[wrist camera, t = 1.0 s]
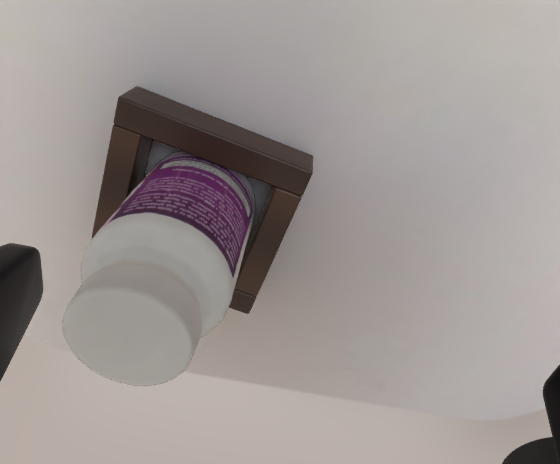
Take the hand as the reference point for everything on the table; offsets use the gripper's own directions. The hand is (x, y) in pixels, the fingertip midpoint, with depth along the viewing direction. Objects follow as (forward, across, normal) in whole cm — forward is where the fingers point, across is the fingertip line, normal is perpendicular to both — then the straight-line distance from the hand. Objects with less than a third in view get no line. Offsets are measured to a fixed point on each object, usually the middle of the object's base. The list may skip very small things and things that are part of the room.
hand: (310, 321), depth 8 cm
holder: (+13, +4, +6) cm, 15 cm away
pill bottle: (+14, +4, +6) cm, 15 cm away
